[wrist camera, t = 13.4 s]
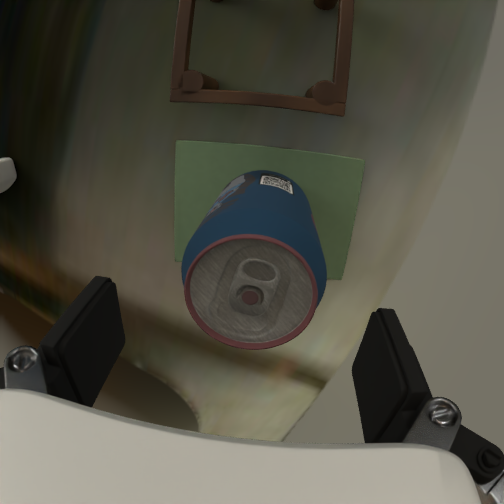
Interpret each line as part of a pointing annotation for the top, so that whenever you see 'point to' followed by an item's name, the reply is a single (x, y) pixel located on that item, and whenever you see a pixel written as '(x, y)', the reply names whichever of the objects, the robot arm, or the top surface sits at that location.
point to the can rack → (207, 91)
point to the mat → (278, 160)
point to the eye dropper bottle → (6, 173)
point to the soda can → (255, 263)
